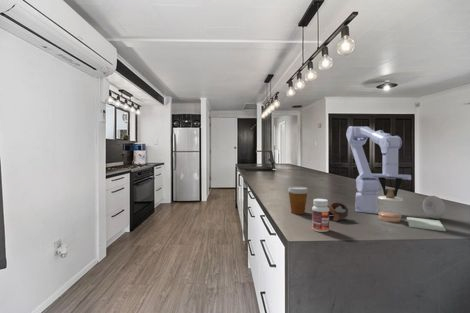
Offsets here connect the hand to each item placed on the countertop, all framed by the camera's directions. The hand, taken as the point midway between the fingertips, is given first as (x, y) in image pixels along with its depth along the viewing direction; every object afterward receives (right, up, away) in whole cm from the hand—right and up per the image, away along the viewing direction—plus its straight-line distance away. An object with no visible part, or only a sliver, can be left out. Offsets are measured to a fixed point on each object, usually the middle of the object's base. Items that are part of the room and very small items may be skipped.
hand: (390, 195), depth 106 cm
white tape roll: (+20, -11, +2) cm, 23 cm away
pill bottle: (-34, -11, -13) cm, 38 cm away
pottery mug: (-23, -11, +3) cm, 26 cm away
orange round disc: (0, -10, +1) cm, 10 cm away
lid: (0, -1, 0) cm, 1 cm away
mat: (+10, -11, -7) cm, 16 cm away
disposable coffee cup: (-36, -10, +13) cm, 40 cm away
